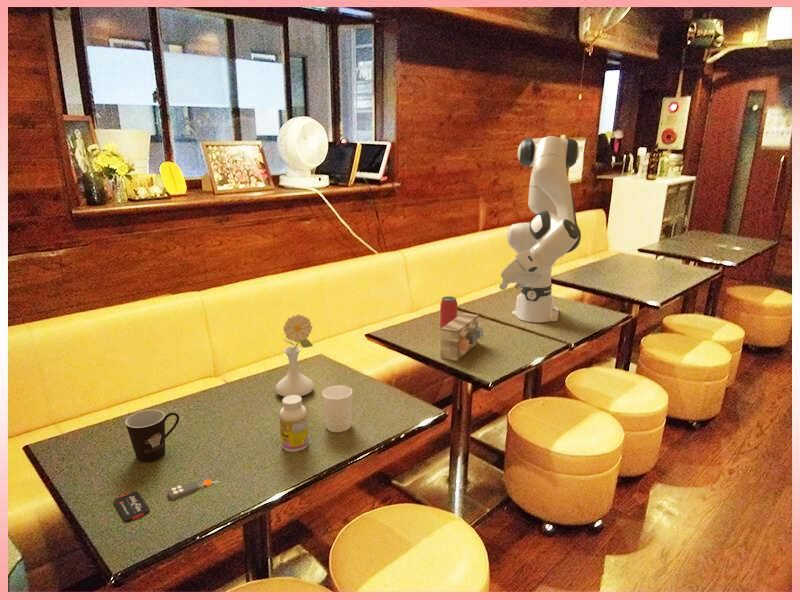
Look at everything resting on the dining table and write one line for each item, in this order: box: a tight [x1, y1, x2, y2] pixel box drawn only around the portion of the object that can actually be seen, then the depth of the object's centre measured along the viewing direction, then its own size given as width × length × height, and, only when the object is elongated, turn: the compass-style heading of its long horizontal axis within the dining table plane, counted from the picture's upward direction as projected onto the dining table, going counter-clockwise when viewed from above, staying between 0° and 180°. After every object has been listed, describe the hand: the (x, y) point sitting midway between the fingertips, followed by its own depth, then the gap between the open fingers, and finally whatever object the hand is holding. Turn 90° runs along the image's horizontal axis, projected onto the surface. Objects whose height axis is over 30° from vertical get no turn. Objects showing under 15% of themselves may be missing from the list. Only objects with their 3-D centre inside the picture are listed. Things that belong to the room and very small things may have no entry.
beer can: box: [439, 296, 458, 329], centre depth 218 cm, size 7×7×12 cm
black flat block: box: [113, 491, 151, 523], centre depth 117 cm, size 10×1×5 cm
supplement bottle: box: [278, 395, 309, 453], centre depth 138 cm, size 7×7×13 cm
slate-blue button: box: [473, 326, 484, 339], centre depth 200 cm, size 3×3×3 cm
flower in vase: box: [274, 313, 315, 398], centre depth 163 cm, size 13×11×25 cm
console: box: [440, 312, 479, 362], centre depth 197 cm, size 19×6×11 cm, turn 151°
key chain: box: [167, 479, 219, 501], centre depth 124 cm, size 13×4×2 cm, turn 125°
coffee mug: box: [124, 409, 180, 464], centre depth 135 cm, size 12×9×10 cm
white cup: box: [321, 384, 353, 433], centre depth 147 cm, size 8×8×10 cm
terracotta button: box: [458, 339, 469, 351], centre depth 190 cm, size 3×3×3 cm
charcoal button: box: [466, 333, 476, 345], centre depth 195 cm, size 3×3×3 cm
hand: (509, 288), depth 191 cm, fingers open, 8 cm apart
